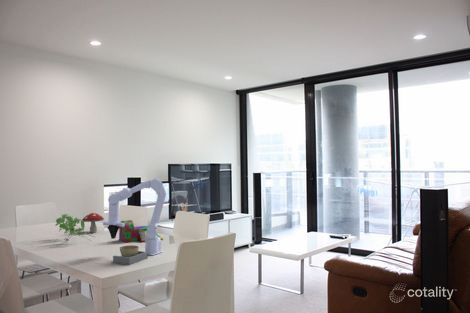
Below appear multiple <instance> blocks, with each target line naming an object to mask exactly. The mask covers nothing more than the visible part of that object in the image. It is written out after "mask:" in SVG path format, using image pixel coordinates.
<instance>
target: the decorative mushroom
mask: <svg viewBox="0 0 470 313" xmlns="http://www.w3.org/2000/svg"><path fill="white" fill-rule="evenodd" d="M82 219H83V221H84V223H90V227H89V233H96V232H97V231H98V230H97V229H98V227H97V224H96V222H103V221H105V219H104V217H103V216H102V215H100V214H98V213H95V212H90V213H89V214H87V215H85V216H84V217H83V218H82Z"/></svg>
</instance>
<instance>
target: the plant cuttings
mask: <svg viewBox="0 0 470 313" xmlns="http://www.w3.org/2000/svg"><path fill="white" fill-rule="evenodd" d="M73 217H74V216H73V215H69V213H63V214H62V215H61V217H57V218H56V220H55V223H56V224H55V225H54V226H58V227H59V230H58V231H59V232H61V231H63V230H65V231H64V232H63V233H64V235H66V234H69V235H70V236H67V237H65V238H64V241H65V242H69V241H70V239H71V238H72V237H73V235H74V234H75V235H77V236H79V237H82V238H85V239H87V237H85V236H84V235H81V234H80V233H81V232H84V234H85V233H86V235H88V236H91V237H93V238H95V236H93V235H91V234H89V233H88V232H86V231H84V230H85V222H84V221H83V218H80V219H79V218H78V217H75V218H74V219H73ZM65 220H66V221H65ZM78 224H80V226H81V227H78ZM76 227H77V228H76ZM89 241H90V242H92V240H91V239H89Z"/></svg>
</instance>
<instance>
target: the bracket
mask: <svg viewBox="0 0 470 313" xmlns="http://www.w3.org/2000/svg"><path fill="white" fill-rule="evenodd" d="M147 259H148V255H147V252H145V251H141V250H138V253H137V255H135V256H132V257H122V255H113V256H112V263H113V264H114V263H115V264H120V265H122V264H123V265H129V266H130V265H133V264H135V263H136V264H137V263H139V262H141V261H144V260H147Z"/></svg>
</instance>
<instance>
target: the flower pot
mask: <svg viewBox="0 0 470 313" xmlns="http://www.w3.org/2000/svg"><path fill="white" fill-rule="evenodd" d="M139 248H140V247H139V246H138V245H133V244H132V245H131V244H130V245H128V244H127V245H123V246H120V247H119V252H120V256H122V257H132V256H135V255H137V253H138V251H139V250H140V249H139Z"/></svg>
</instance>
